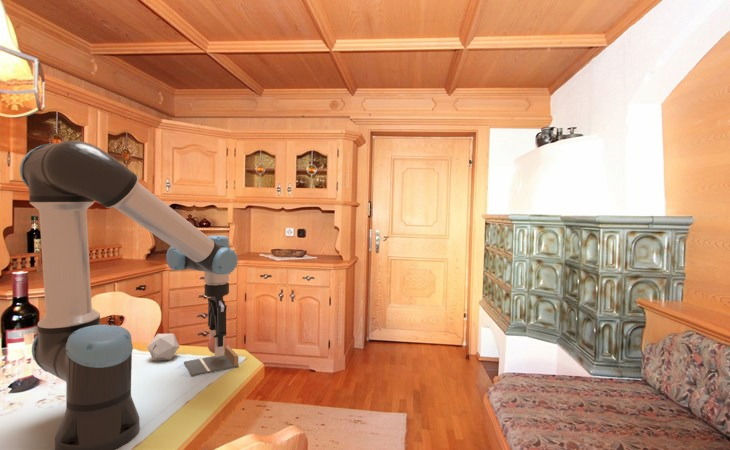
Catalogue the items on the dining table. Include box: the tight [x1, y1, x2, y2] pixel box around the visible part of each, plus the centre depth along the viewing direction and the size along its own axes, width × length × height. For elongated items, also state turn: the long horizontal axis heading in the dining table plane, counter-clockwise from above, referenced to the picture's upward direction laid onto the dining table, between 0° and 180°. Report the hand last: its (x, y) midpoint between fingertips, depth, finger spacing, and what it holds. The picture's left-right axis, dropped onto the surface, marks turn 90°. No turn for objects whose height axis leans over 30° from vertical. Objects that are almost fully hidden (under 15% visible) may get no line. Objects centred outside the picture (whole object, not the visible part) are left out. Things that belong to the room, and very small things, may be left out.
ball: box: [207, 335, 228, 354], centre depth 124 cm, size 6×6×6 cm
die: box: [146, 333, 180, 361], centre depth 128 cm, size 8×9×10 cm
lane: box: [183, 344, 239, 377], centre depth 123 cm, size 14×12×4 cm
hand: (216, 352), depth 124 cm, fingers closed on ball, 6 cm apart
